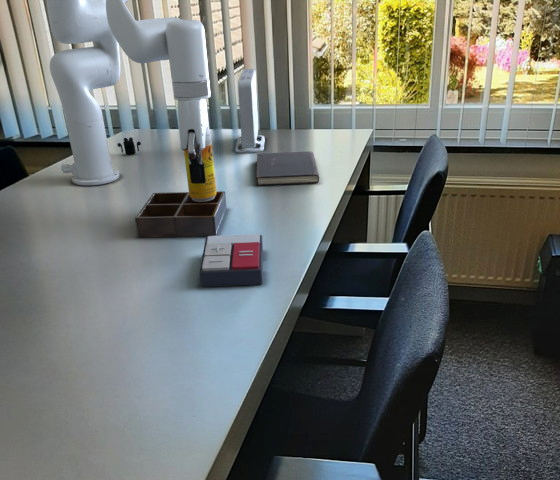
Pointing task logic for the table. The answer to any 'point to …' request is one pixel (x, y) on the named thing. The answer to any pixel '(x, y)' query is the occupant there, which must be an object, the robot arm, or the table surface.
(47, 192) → the table surface
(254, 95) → the network device
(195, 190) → the beer can
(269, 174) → the hardcover book
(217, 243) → the calculator
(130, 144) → the wireless earbuds
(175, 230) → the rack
